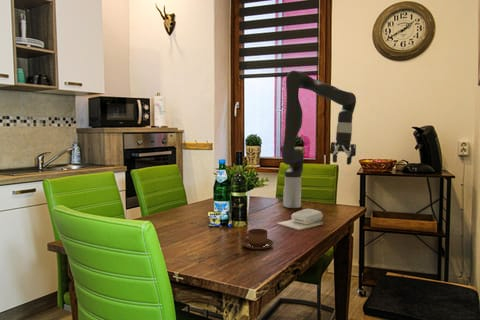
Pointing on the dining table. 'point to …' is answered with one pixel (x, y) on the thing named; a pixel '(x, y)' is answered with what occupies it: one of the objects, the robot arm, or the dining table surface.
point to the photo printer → (307, 216)
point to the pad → (299, 224)
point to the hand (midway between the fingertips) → (341, 163)
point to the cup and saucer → (257, 239)
